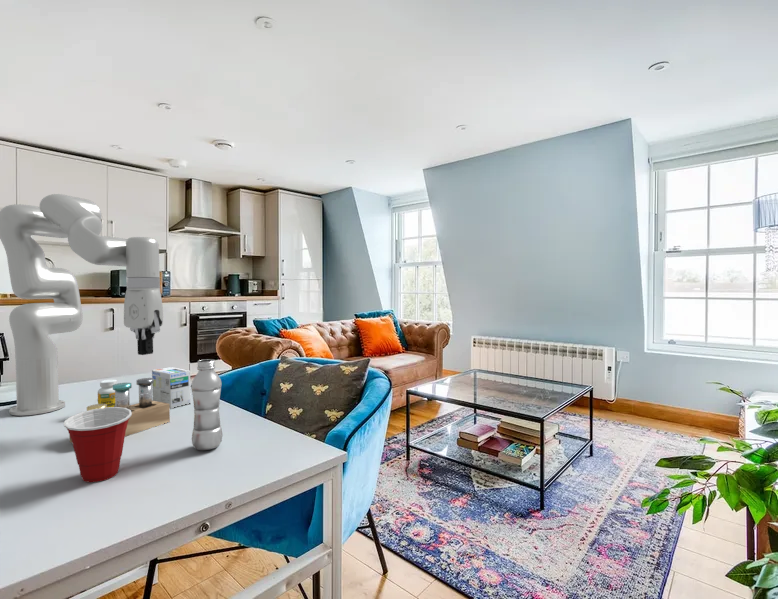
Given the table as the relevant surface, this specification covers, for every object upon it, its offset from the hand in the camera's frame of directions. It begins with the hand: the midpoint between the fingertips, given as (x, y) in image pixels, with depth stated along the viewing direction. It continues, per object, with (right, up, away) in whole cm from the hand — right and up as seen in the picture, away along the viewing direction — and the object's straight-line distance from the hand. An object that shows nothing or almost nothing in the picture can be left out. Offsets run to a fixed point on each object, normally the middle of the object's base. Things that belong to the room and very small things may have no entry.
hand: (145, 353), depth 109 cm
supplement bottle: (-16, -19, +10) cm, 27 cm away
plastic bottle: (+23, -20, -15) cm, 34 cm away
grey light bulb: (0, -14, +1) cm, 14 cm away
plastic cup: (+8, -20, -29) cm, 36 cm away
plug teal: (-3, -15, -5) cm, 16 cm away
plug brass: (-6, -19, -10) cm, 22 cm away
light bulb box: (-4, -19, +20) cm, 27 cm away
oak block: (-3, -19, -5) cm, 20 cm away
